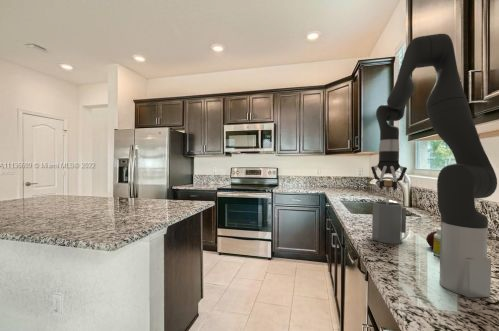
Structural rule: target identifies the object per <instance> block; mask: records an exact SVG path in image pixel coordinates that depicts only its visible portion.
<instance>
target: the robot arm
mask: <svg viewBox="0 0 499 331" xmlns="http://www.w3.org/2000/svg"><path fill="white" fill-rule="evenodd" d="M455 52H456V51H455V47H454V44H453V41H452V38H451V36H450V35H448V34H447V33H436V34H429V35H428V34H427V35H422V36H416V37H414V38H413V39H412V40H411V41H410V42H409V43H408V45H407V47H406V49H405V52H404V55H403V58H402V61H401V64H400V67H399V70H398V74H397V78H396V82H395V84H394V86H393V88H392V90H391V91H390V94H389V95H388V97H387V101H386V102H387V104H381V105H379V106H378V107H377V108H376V112H375V114H376V115H375V116H376V120H377V123H378V126H379V144H378V162H377V163H378V164H376V165H373V166H371V167H370V168H371V171H372V174H373V177H374V179H375V180H377V181H378V182H379V183H378V187H379V189H380V191H382V190H384V189H383V188H384V187H383V180H384V176H385V175H387V174H389V175H391V176H392V180H393V187H392V191H396V190H397V189H398V182H399V181H403V179H404V176H405V174H406V172H407V169H408V168H407V166H402V165H400V163H399V162H400V141H399V135H400V128H399V127H398V126H394V125H390V124H389V123H388V122H398V121H400V120H402V119H403V118H404V116H405V111H406V106H407V103H408V102H409V101H410V99H411V98H412V96H413V94H414V90H415V83H414V80H413V78H412V77H413V76H412V74H413V72H414V71H415V69H420V68H428V67H433V69H434V70H435V74H436V81H435V84H434V86H433V87H432V89H431V91H430V93H429V95H428V98H427V101H426V104H425V105H426V106H425V107H426V111H427V116H428V119H429V123H430V126H431V128H432V129H433V130H434V132H435V133H436V134H437V136H439V138H440V139H441V140H442V141H443V142H444V143H445V144H446V145H447V146H448V148H449V149H450V151H451V152H452V155H453V157H454V160H455V163H450V164H447V165H445V166H443V167H442V168H441V170H440V171H439V172H438V175H437V182H436V191H437V208H438V212H439V214H440V218H441V219H440V228H441V244H440V257H439V285H441V286H442V287H443V288H445V289H447V290H449V291H450V292H453V293H456V294H459V295H462V296H464V297H466V298H469V299H471V298H491V286H492V284H491V283H492V282H491V281H492V259H491V258H489V257H488V227H489V219H488V217H487V215H485V214H484V213H481V212H479V211H478V210H477V209H476V203H475V200H476V199H485V198H490V197H491V196H492V195H493V194H494V193H495V192H496V190H497V187H498V178H497V174H496V172H495V169H494V168H493V165H492V163H491V161H490V159H489V157H488V155H487V153H486V151H485V148H484V146H483V145H482V142H481V139H480V136H479V133H478V130H477V127H476V125H475V121H474V118H473V115H472V112H471V108H470V105H469V102H468V99H467V96H466V94H465V91H464V88H463V85H462V80H461V78H460V74H459V71H458V64H457V59H456V53H455ZM378 169H379V171H380V172H381V173H380V177H379V176H378V173H377V170H378ZM398 169H399V171H400V174H399V176H398V177H397V174H396V172H397V171H398Z"/></svg>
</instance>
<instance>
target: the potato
mask: <svg viewBox="0 0 499 331" xmlns="http://www.w3.org/2000/svg"><path fill="white" fill-rule="evenodd" d="M436 233H437V232H436V230H433V231H431V232H430V233H428V234H427V236H426V243H427V244H428V246H429V247H430V248H432V249H433V248H434V234H436Z"/></svg>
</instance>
